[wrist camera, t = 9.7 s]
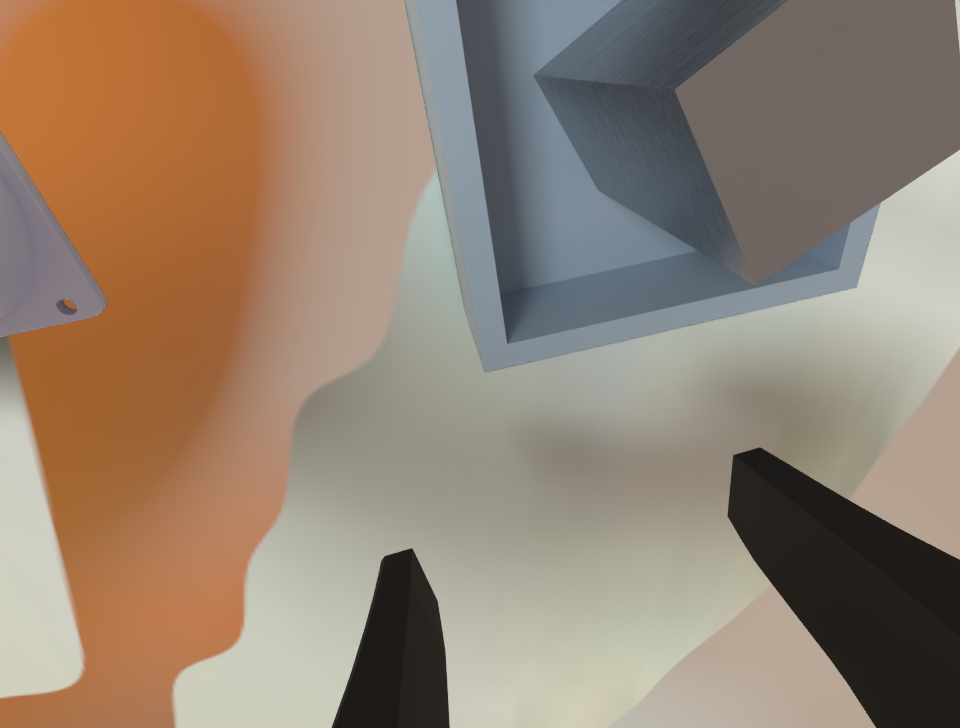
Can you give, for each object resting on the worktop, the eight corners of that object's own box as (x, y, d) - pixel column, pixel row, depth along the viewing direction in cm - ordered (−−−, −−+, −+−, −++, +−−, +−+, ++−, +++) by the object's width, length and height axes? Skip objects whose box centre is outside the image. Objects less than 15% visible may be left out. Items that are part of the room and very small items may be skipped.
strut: (598, 190, 16) (756, 285, 9) (533, 75, 14) (674, 89, 7) (707, 106, 15) (968, 144, 8) (655, -29, 13) (943, -122, 6)
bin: (465, 314, 18) (484, 372, 15) (378, -133, 12) (376, -211, 8) (771, 246, 19) (856, 287, 15) (851, -212, 12) (1028, -315, 9)
